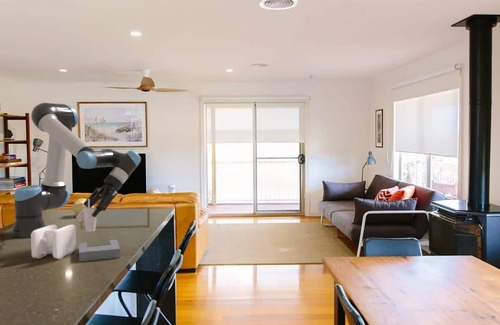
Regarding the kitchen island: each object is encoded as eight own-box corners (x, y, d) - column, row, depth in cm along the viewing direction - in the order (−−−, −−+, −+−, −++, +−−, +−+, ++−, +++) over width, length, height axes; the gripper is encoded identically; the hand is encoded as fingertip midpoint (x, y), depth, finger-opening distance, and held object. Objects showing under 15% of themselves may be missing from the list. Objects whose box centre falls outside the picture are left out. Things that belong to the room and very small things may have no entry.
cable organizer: (55, 261, 159) (55, 231, 159) (30, 260, 161) (29, 230, 160) (76, 251, 174) (76, 223, 173) (53, 250, 175) (52, 223, 175)
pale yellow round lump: (72, 215, 255) (71, 197, 255) (93, 213, 260) (92, 196, 260) (73, 218, 245) (72, 200, 244) (94, 216, 250) (94, 198, 249)
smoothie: (85, 229, 183) (84, 197, 182) (100, 229, 184) (99, 197, 183) (80, 232, 177) (80, 200, 176) (96, 232, 177) (95, 200, 176)
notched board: (79, 251, 174) (78, 242, 174) (116, 247, 180) (116, 239, 180) (79, 261, 159) (78, 252, 159) (120, 257, 165) (120, 248, 165)
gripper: (133, 186, 185) (101, 229, 173) (108, 183, 197) (76, 223, 185) (123, 175, 180) (89, 218, 169) (98, 172, 192) (64, 212, 180)
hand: (82, 220), depth 177 cm, fingers closed on smoothie, 6 cm apart
